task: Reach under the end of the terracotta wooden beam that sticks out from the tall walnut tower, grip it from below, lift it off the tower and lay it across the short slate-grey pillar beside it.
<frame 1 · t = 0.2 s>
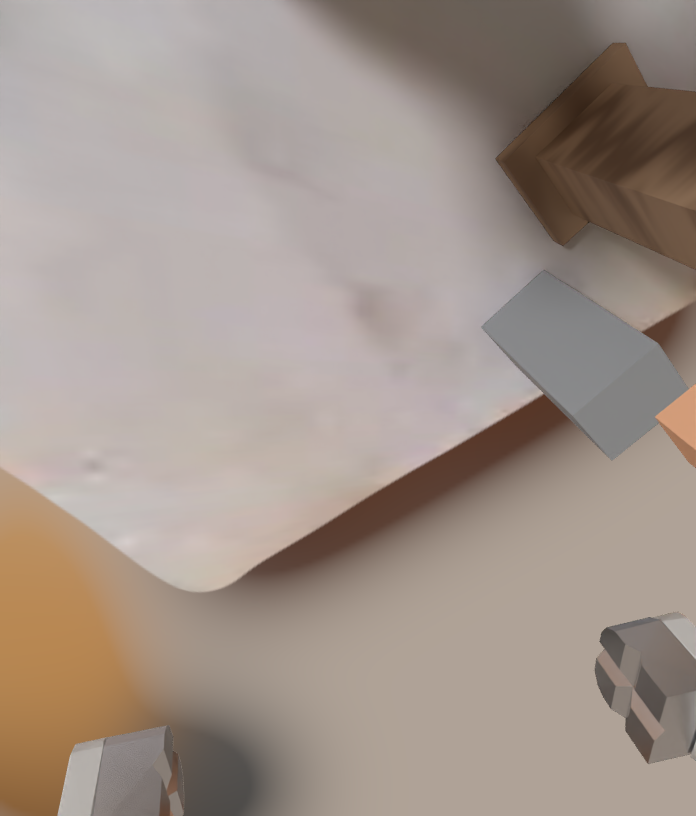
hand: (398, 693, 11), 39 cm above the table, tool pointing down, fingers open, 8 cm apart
slate pillar: (529, 320, 54), on the table
walnut tower: (581, 149, 47), on the table
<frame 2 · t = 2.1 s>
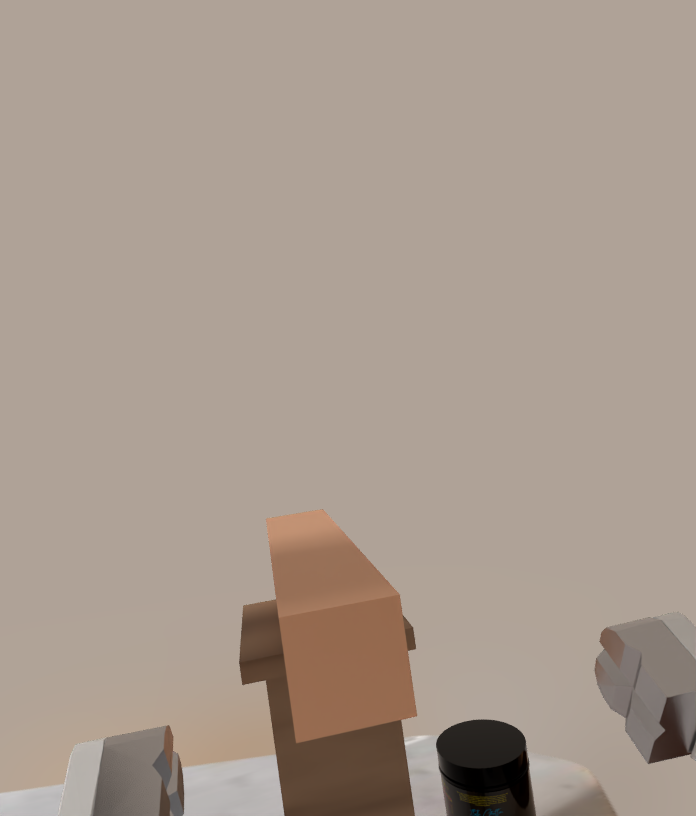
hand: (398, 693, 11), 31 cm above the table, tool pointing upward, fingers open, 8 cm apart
terracotta beam: (320, 620, 31), point 26 cm above the table, touching walnut tower
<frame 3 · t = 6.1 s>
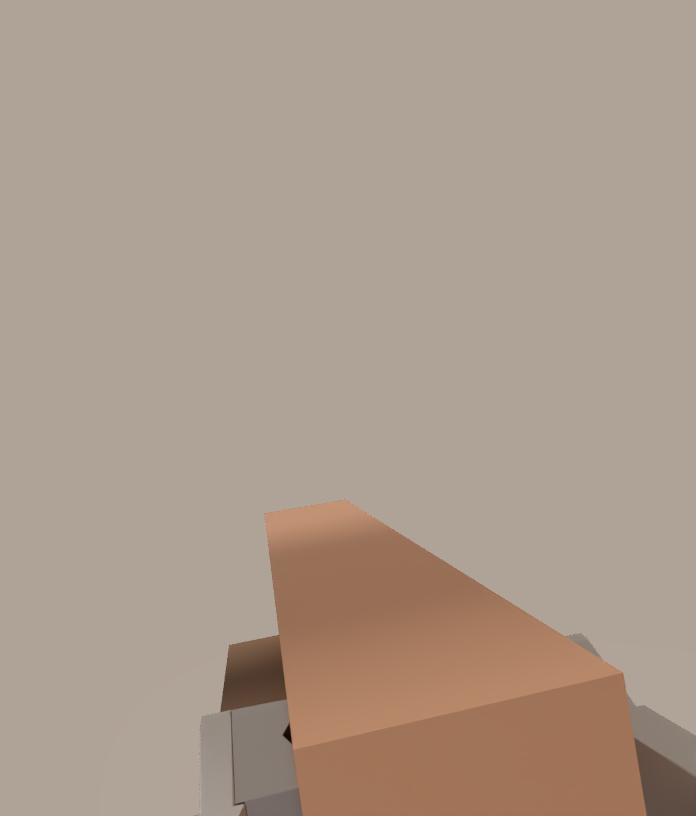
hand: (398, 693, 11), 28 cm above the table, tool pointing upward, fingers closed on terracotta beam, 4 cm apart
terracotta beam: (355, 677, 18), point 26 cm above the table, touching gripper, walnut tower
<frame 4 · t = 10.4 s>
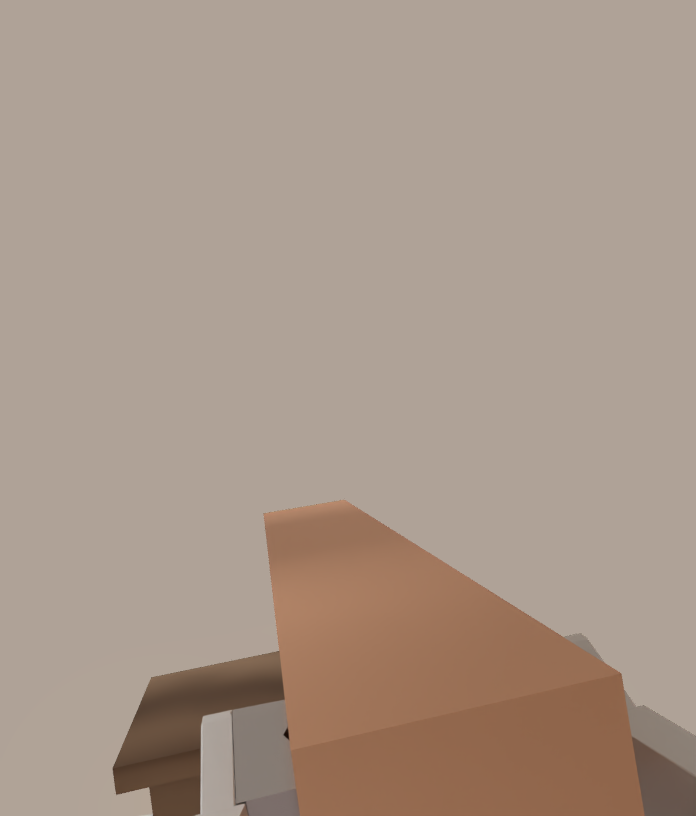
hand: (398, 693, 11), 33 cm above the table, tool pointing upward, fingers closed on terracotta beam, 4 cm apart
terracotta beam: (354, 678, 18), point 30 cm above the table, touching gripper
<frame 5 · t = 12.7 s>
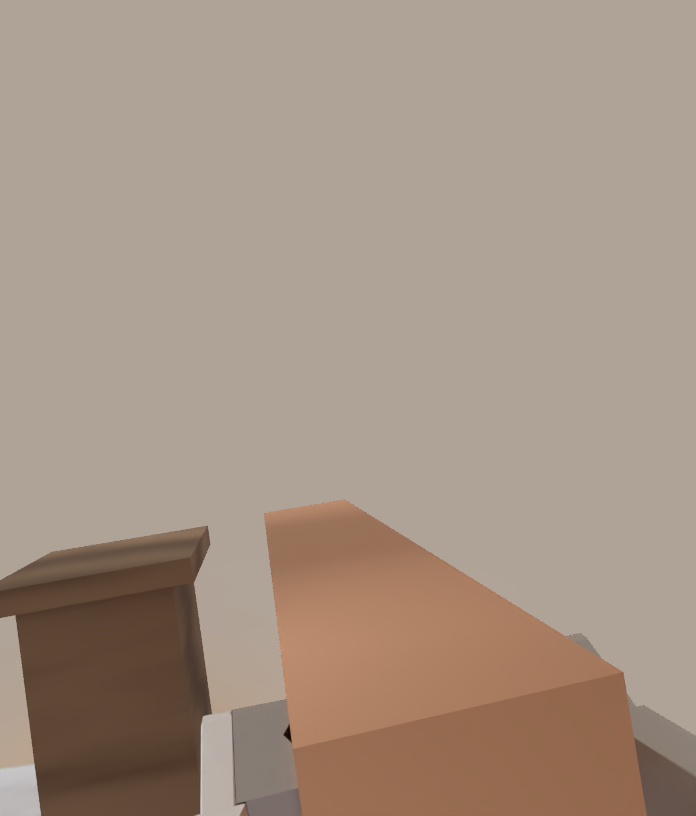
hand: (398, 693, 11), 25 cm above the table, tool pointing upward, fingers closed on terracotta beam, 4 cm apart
terracotta beam: (355, 677, 18), point 23 cm above the table, touching gripper
when the fingers open (19 cm above the table, at t = 14.4 s): terracotta beam drops 2 cm, resting on slate pillar.
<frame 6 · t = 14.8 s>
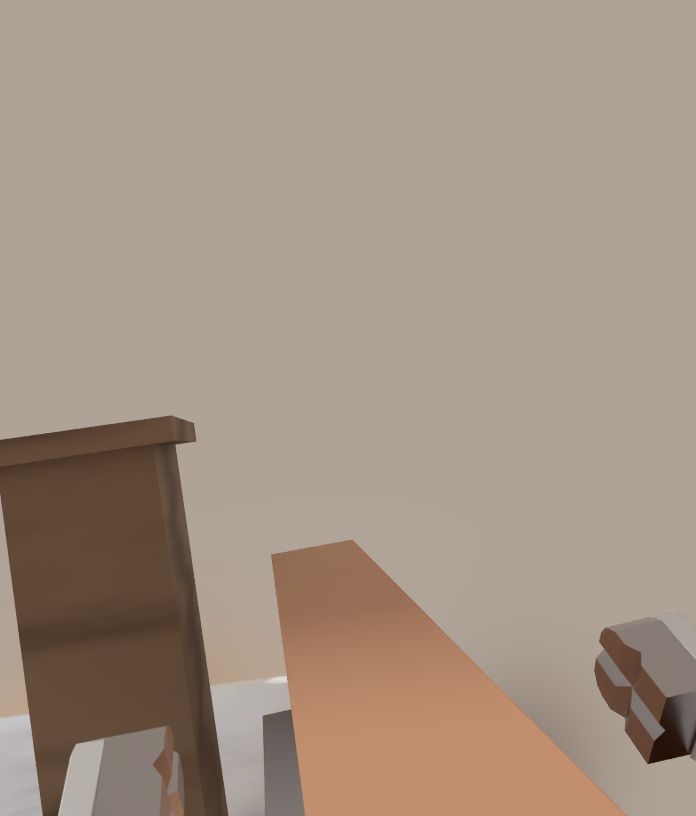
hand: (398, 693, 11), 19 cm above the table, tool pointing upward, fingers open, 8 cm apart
terracotta beam: (367, 746, 18), point 15 cm above the table, touching slate pillar
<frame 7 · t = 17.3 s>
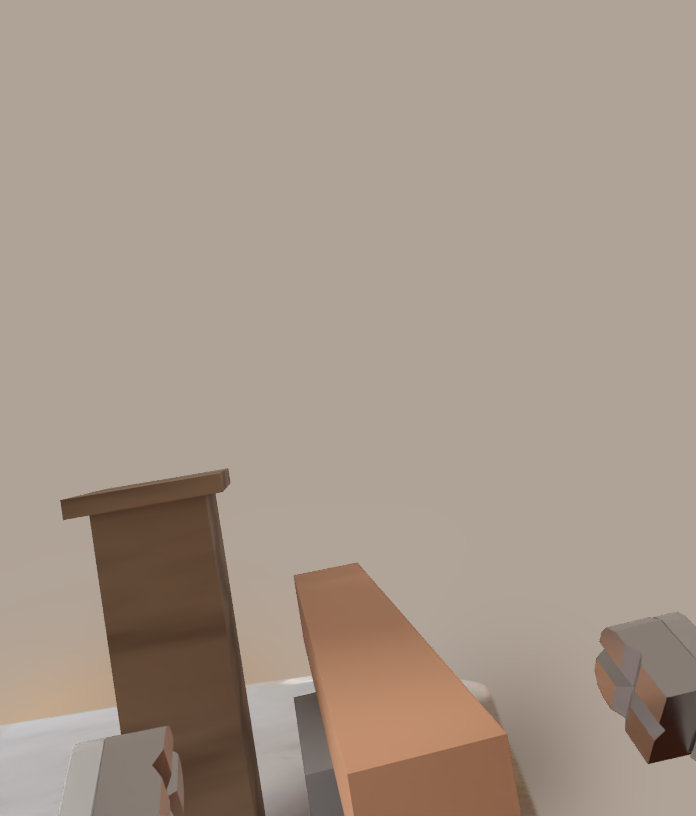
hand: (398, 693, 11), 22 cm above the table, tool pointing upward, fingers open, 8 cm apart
terracotta beam: (370, 715, 26), point 15 cm above the table, touching slate pillar
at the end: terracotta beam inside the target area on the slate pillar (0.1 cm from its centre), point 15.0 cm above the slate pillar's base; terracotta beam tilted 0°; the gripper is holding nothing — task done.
